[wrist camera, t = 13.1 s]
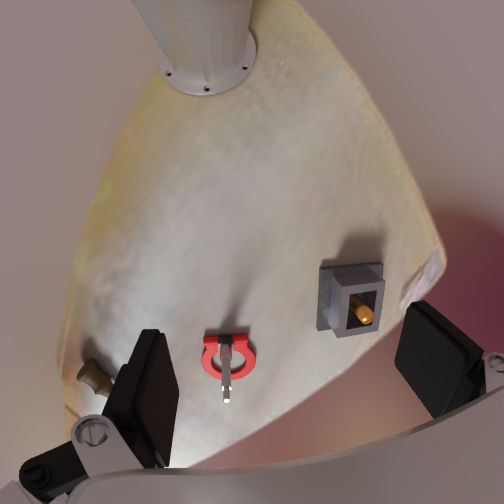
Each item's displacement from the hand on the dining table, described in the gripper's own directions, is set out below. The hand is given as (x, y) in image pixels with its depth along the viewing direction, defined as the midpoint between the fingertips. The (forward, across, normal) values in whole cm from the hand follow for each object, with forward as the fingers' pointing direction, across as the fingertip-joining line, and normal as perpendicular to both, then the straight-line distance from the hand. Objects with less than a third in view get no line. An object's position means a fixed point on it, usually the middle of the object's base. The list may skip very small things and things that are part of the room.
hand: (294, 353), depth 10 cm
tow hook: (+29, +4, +22) cm, 36 cm away
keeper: (+28, -15, +13) cm, 35 cm away
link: (+27, -15, +13) cm, 34 cm away
